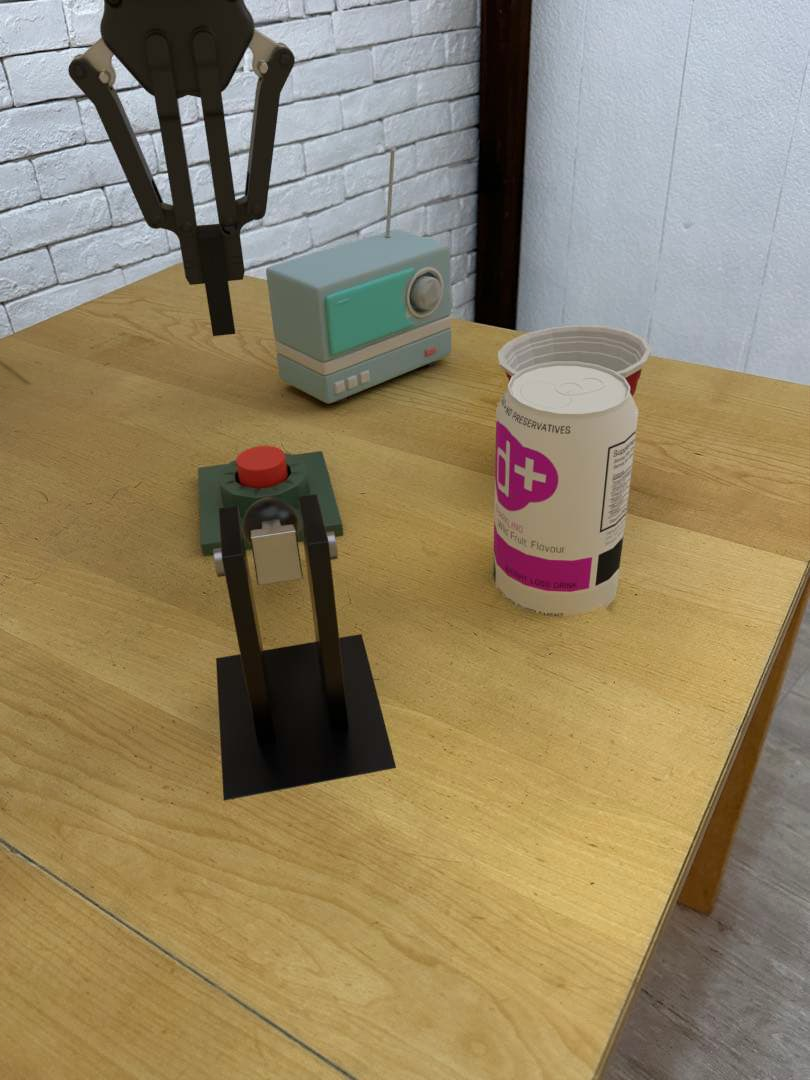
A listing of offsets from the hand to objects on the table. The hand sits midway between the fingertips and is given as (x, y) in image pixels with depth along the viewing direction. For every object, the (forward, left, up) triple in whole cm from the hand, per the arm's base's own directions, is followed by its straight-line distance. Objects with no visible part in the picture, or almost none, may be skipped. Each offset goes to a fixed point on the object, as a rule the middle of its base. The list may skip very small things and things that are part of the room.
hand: (223, 327), depth 61 cm
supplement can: (+15, +19, -15) cm, 29 cm away
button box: (+1, +1, -15) cm, 15 cm away
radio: (-22, +13, -15) cm, 30 cm away
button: (+1, +1, -12) cm, 12 cm away
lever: (+18, +1, -8) cm, 19 cm away
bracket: (+23, +1, -15) cm, 28 cm away
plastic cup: (+3, +24, -15) cm, 29 cm away
